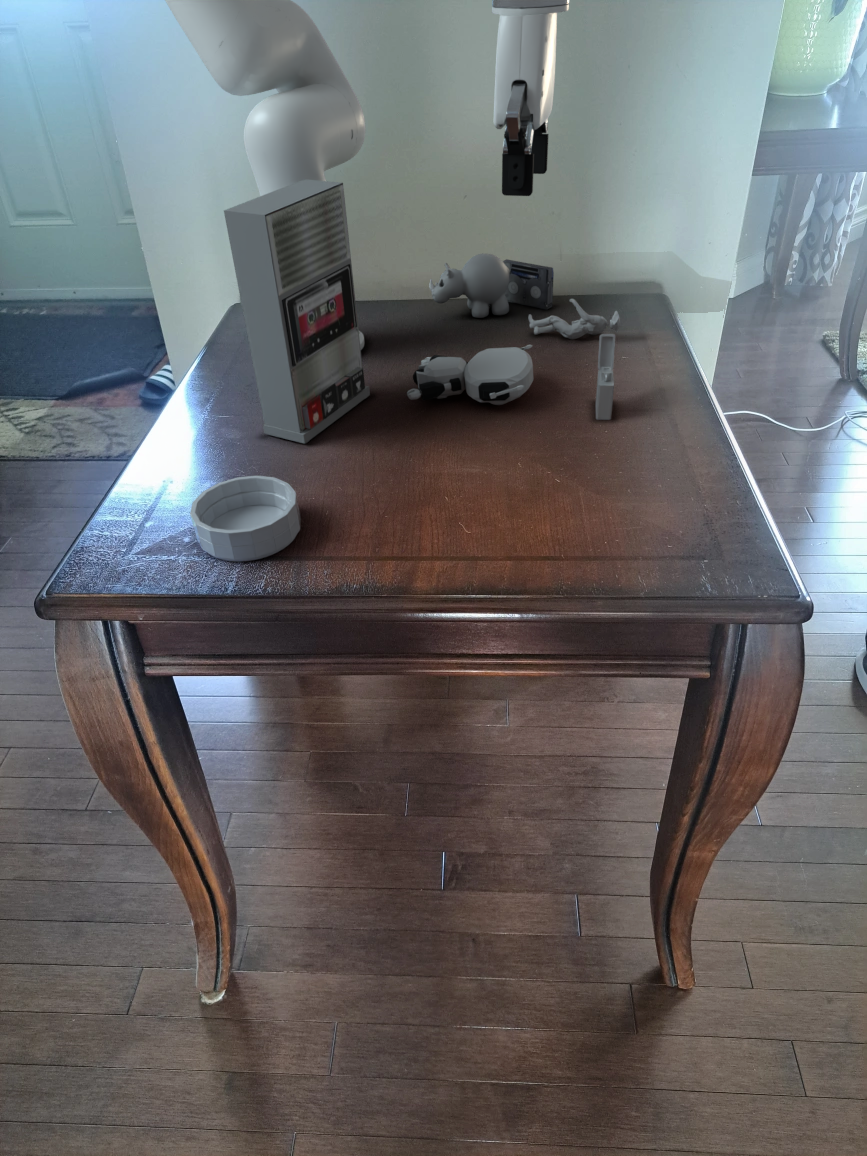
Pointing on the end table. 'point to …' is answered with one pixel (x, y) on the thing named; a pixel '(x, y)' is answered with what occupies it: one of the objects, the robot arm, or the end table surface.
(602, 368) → the lighter
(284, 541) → the grey shallow bowl
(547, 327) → the soldier figure
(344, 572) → the end table surface
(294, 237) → the cassette tape recorder
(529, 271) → the mini dv tape
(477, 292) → the chubby cartoon animal
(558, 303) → the end table surface
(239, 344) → the end table surface
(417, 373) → the robot toy
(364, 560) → the end table surface
